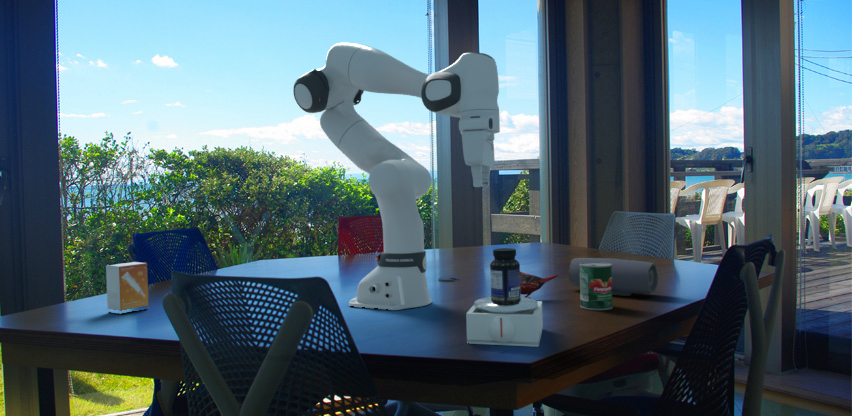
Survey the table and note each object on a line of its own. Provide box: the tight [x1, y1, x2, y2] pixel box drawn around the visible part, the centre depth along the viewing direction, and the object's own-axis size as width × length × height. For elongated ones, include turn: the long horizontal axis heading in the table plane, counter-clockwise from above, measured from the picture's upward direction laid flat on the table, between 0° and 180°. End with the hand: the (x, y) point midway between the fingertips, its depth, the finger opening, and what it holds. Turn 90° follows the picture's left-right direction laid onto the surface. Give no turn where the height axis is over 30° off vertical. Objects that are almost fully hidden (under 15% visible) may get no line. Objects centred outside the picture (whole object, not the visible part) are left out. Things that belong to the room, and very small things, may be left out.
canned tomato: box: [579, 262, 614, 311], centre depth 140 cm, size 8×8×11 cm
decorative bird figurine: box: [520, 271, 559, 299], centre depth 151 cm, size 3×18×10 cm, turn 107°
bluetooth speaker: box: [568, 257, 659, 297], centre depth 157 cm, size 23×9×10 cm, turn 50°
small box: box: [105, 261, 149, 311], centre depth 151 cm, size 8×6×13 cm
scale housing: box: [465, 300, 544, 348], centre depth 115 cm, size 14×15×6 cm
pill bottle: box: [489, 247, 522, 304], centre depth 115 cm, size 6×6×11 cm
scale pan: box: [473, 296, 538, 314], centre depth 115 cm, size 13×13×4 cm
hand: (481, 187), depth 124 cm, fingers open, 8 cm apart
